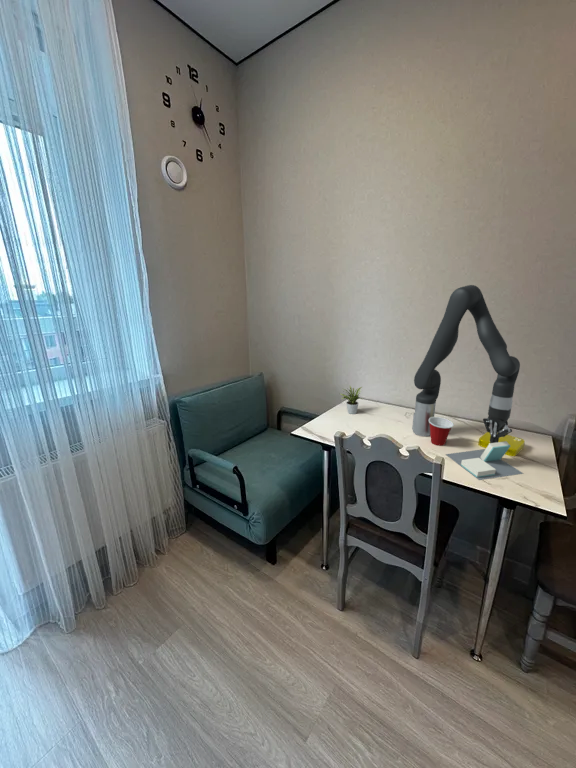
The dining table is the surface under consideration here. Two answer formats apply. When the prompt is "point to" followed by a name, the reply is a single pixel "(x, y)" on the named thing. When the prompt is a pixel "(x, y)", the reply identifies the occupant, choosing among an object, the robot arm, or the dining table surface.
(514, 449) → the element tile
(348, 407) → the house plant
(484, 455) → the tile
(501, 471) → the mat
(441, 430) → the plastic cup
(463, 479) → the dining table surface
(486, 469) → the tile
